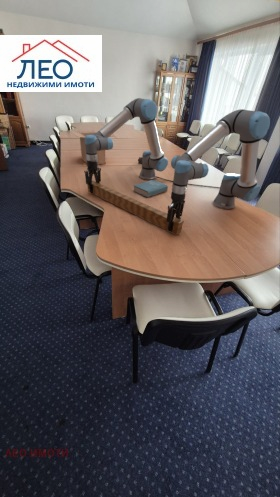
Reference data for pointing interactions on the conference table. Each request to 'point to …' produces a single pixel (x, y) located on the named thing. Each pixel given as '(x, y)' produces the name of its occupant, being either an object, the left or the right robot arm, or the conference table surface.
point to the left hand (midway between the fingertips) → (94, 192)
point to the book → (150, 188)
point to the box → (82, 134)
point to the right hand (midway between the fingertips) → (172, 229)
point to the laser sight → (140, 160)
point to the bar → (136, 207)
